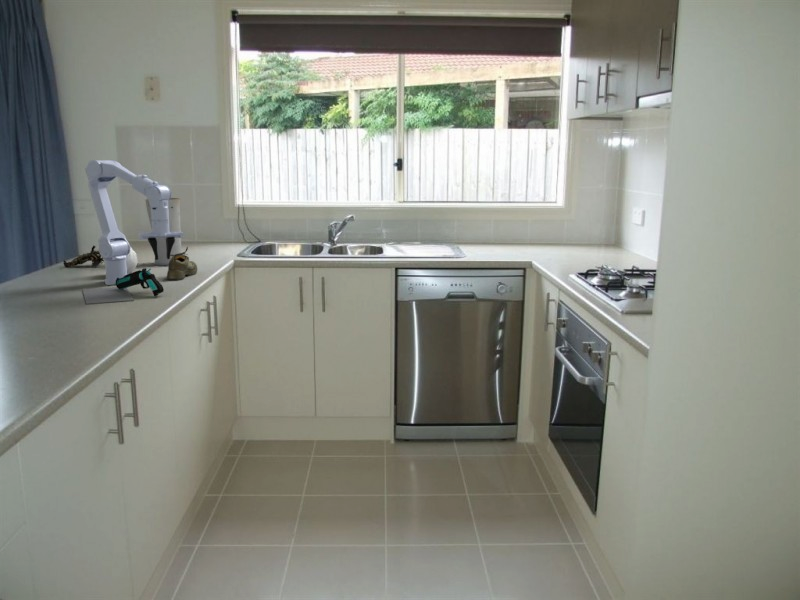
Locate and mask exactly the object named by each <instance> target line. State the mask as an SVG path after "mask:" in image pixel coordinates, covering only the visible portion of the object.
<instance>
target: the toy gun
mask: <svg viewBox="0 0 800 600" xmlns="http://www.w3.org/2000/svg"><path fill="white" fill-rule="evenodd" d="M151 270H152V268H149V269H147V268H142V269H140V270H136V271H133V272H131V273H130V274H127V275H125V276H124V277H122V278H117V279H116V284H114V285H115V287H117V288H118V289H125V288H127V289H128V288H131V287H133V286H137V285H140V286H141V288H142V289H144V290H145V289H151V291H152V293H153V297H156V296H159V294H161V293H164V289H165V288H164V286H163V284H162V283H161V282H160V281H159V280H158V279H157V278H156V275H155V274H154V273H152V272H150V271H151ZM145 285H146V286H145Z"/></svg>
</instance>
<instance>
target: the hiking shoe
mask: <svg viewBox="0 0 800 600" xmlns="http://www.w3.org/2000/svg"><path fill="white" fill-rule="evenodd" d="M188 249H189V246H186V248H185V251H182V253H179V254H175V255H170V256H173V257H172V258H171V259H170V261H169V265H168V266H167V268H168V269H167V272H166V273H167V274H166V278H167V280H171V281H181V280H182V281H183V280H184V279H186V277H188V276H193V275H194V276H195V275H197V273H198V266H197V264H196V262H195V261H193V260H192V261H191V260H190V257H189V256H188V253H186V252H188ZM185 275H187V276H185Z"/></svg>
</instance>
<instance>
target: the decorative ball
mask: <svg viewBox="0 0 800 600" xmlns="http://www.w3.org/2000/svg"><path fill="white" fill-rule="evenodd" d="M127 257H128V258H126V263H127V274H130V273H133V272H135V271H134V270H135V269H136V267H137V265H138V254H137V253H136V251H134V249H133V248H132V246H130V253H129V254H128V255H127ZM103 260H104V259H103ZM103 264H104V266H105V260H104V262H103Z"/></svg>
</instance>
